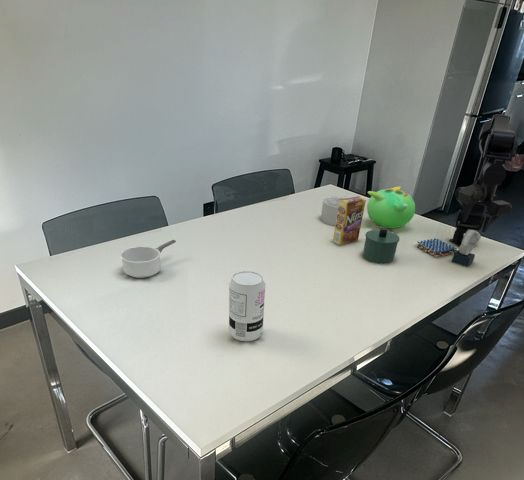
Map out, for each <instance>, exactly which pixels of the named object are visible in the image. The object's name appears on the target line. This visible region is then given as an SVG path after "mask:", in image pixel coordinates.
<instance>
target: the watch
mask: <svg viewBox="0 0 524 480" xmlns="http://www.w3.org/2000/svg"><path fill="white" fill-rule="evenodd" d="M463 236H464V238H463V240H462V243H461V245H460V246H459V249H458V250H457V251H456V252H455V253H454V254H452V259H451V263H454V264H457V265H460V266H462V267H466V268H469V267H470V266H471V265H472V264H473V262H474V259H475V256H476V254H474V253H471V252H472V251H473V250H474V247H475V246H477V244H478V242H479V241H481V238H482V236H481V234H480V232H479V231H478V230H476V231H475V230H468V231H467V232H466V234H465V233H464V235H463Z"/></svg>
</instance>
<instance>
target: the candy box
mask: <svg viewBox="0 0 524 480" xmlns="http://www.w3.org/2000/svg"><path fill="white" fill-rule="evenodd" d="M366 203H367V199H366V198H365V197H362V196H359V195H358V196H352V197H346V199H340V202H339V207H338V213H337V219H336V225H335V226H334V229H333V230H334V231H333V235H332V236H333V237H332V242H333V243H334V244H336V245H338V246H342V245H346V244H350V243H351V244H352V243H355V242H359V237H360V236H359V235H360V232H361V227H362V223H363V219H364V218H363V217H364V213H365V207H366Z"/></svg>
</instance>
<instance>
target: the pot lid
mask: <svg viewBox="0 0 524 480" xmlns="http://www.w3.org/2000/svg"><path fill="white" fill-rule="evenodd" d="M364 235H365V239H366V238H367V239H369V240H370V241H373V242H376V243H381V244H394V243H397V242H398V243H399V242H400V239H401V238H400V236H399V235H398V234H396V233H394V232H392V231H389V228H387V227H383V226H381V227H380V228H379V229H372V230H368V231H366V232H365V234H364ZM398 243H397V244H398Z"/></svg>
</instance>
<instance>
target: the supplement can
mask: <svg viewBox="0 0 524 480" xmlns="http://www.w3.org/2000/svg"><path fill="white" fill-rule="evenodd" d="M228 286H229V287H228V332H229V335H230V336H231V337H232V338H233V339H235V340H237V341H240V342H252V341H255V340H257V339H259V338H260V337H261V336H262V335H263V332H264V331H263V330H264V315H265V300H266V298H265V297H266V283H265V280H264V277H263V276H262V275H261V274H260V273H258V272H255V271H248V270H247V271H246V270H245V271H244V270H243V271H239V272H235V273H234V274H233V275H232V277H231V279H230V281H229V283H228Z"/></svg>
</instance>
